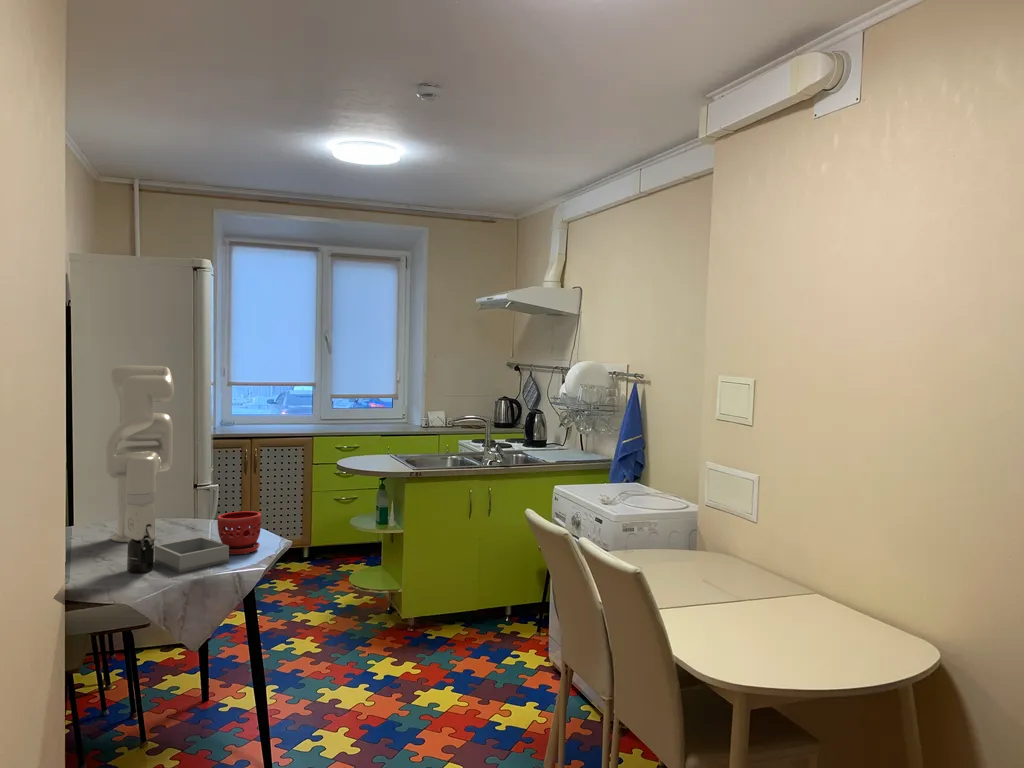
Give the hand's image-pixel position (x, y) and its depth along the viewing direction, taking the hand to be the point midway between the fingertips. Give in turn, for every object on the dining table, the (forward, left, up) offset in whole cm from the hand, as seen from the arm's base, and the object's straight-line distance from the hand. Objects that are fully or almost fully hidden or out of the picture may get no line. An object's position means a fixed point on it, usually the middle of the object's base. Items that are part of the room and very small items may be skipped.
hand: (140, 559), depth 203 cm
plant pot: (+1, +30, -4) cm, 30 cm away
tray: (+2, +14, -3) cm, 15 cm away
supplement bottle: (0, 0, -4) cm, 4 cm away
